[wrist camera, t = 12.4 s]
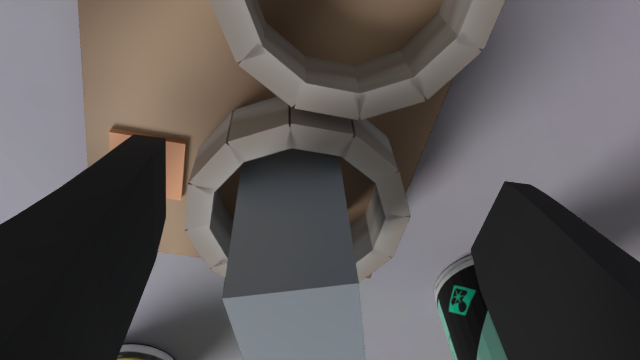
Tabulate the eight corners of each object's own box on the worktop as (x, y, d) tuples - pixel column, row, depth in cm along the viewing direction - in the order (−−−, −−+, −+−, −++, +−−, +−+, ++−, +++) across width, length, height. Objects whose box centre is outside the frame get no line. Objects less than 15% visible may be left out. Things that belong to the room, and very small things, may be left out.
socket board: (545, -180, 15) (605, -185, 12) (367, 264, 26) (377, 316, 23) (72, -330, 13) (9, -379, 10) (99, 230, 24) (73, 283, 21)
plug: (336, 140, 20) (359, 283, 14) (344, 212, 23) (366, 363, 16) (243, 151, 20) (222, 298, 14) (260, 222, 23) (248, 376, 16)
